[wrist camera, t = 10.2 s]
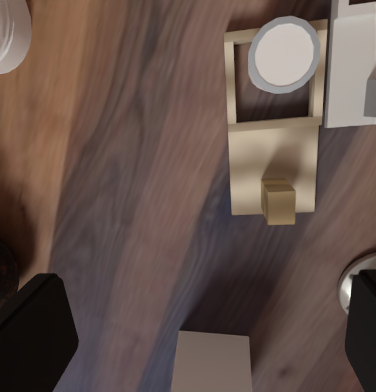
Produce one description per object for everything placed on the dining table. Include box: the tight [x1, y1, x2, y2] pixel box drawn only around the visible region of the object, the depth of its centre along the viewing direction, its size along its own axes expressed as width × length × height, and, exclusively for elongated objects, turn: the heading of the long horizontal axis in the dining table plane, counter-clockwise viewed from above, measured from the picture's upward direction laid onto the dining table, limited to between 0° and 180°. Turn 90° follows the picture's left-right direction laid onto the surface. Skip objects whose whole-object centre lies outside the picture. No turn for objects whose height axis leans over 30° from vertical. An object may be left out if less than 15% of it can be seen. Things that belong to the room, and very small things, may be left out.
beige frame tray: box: [224, 19, 328, 225], centre depth 32 cm, size 22×11×7 cm, turn 5°
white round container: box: [248, 16, 321, 94], centre depth 30 cm, size 7×7×7 cm
